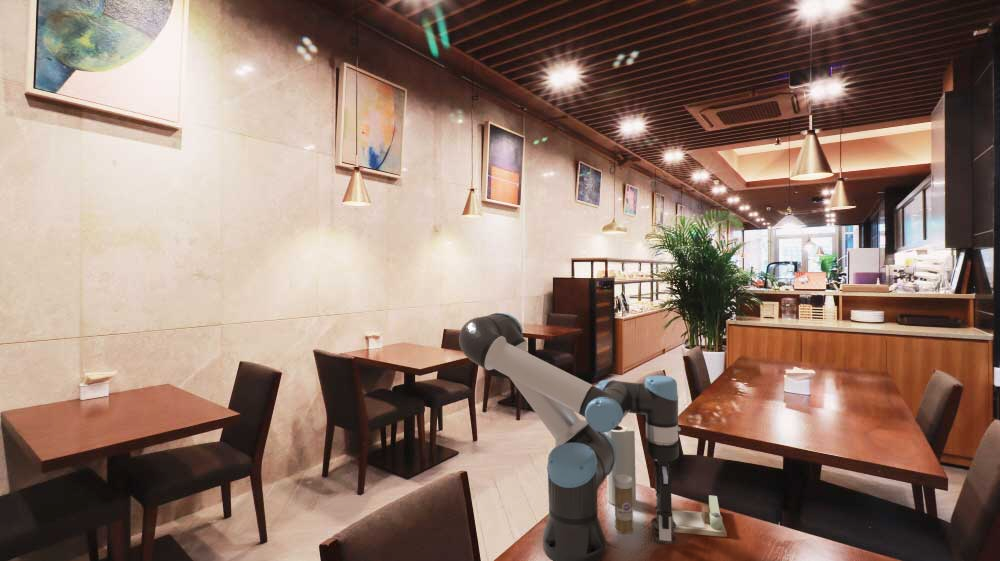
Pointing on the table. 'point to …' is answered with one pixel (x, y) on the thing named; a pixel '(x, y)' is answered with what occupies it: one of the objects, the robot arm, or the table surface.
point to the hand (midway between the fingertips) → (663, 531)
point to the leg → (715, 513)
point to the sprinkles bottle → (623, 503)
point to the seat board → (696, 523)
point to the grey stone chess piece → (656, 527)
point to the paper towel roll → (622, 460)
